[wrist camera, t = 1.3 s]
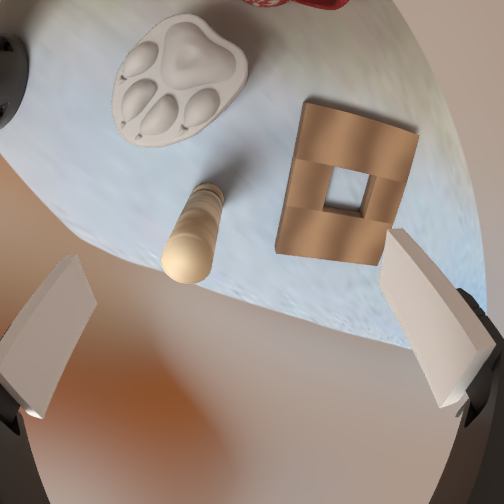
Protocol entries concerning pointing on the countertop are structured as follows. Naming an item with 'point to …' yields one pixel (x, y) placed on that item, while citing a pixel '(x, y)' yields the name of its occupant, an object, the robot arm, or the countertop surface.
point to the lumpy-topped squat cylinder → (176, 82)
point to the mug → (317, 0)
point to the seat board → (318, 177)
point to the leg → (194, 236)
